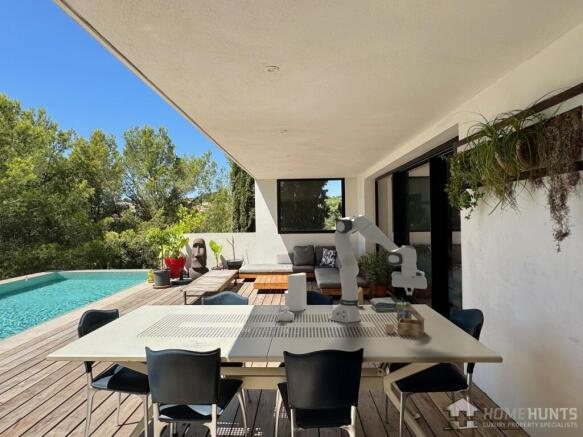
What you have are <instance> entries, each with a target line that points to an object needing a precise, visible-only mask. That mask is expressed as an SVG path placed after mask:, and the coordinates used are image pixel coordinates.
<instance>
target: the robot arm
mask: <svg viewBox="0 0 583 437" xmlns="http://www.w3.org/2000/svg"><path fill="white" fill-rule="evenodd" d="M335 230H336V231H335V232H334V243H335V244H334V245H335V247H336V252H337V257H338V259H339V261H340V263H341V264H340V265H341V267H340V269H339V277H340V284H341V297H340V299H339V301H338V302H339V304H337V305H336V306H335V307H334V308H333V309H332V310H331V314H330V315H329V316H328V318H327V319H328V320H330V321H335V322H342V323H346V324H347V323H356V322H359V321H361V318H362V317H361V315H360V310H359V309H360V307H359V299H358V288H359V287H358V280H357V276H358V275H359V273H360V268H359V265H358V262H357V259H356V257H355V253H354V249H353V248H354V247H353V245H352V244H353V243H352V240H351V234H354V233H356V232H359V233H360V235H361V236H362V237H363V238H364V239H366V241H368V242H371V243H375V244H378V245H381V246H382V247H384V249H385V250H386V251H388V252H387V253H386V256H385V261H386V263H387V264H388V265H389V266H392V267H397V266H400V267H401V271H393V272H392V273H391V286H392V287H394V288H404V291H405V292H406V296H412V295H413V291H414V289H419V290H420V289H421V290H426V289H427V288H428V282H427V281H428V280H427V278H426V276H425V275H426V274H425V272H424V271H422V270H420V269H418V267H417V261H418V259H417V251H416V248H415V246H411V245H405V244H404V245H401V247H400V246H398V245H397V244H395V243H394V241H393V240H392V239H390V238H389V237H388V236H387V235H386V234H385V233H384V232H382V231H381V229H380V228H379V227H378V226H377V225H376V224H375V223H374V222H373V221H372V220H371V219H370V218H368V217H367V216H365V215H364V214H360V215H358V216H346V217H342V218H339V219H337V221H336V222H335ZM408 288H409V289H410V290H411V291H408Z"/></svg>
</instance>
